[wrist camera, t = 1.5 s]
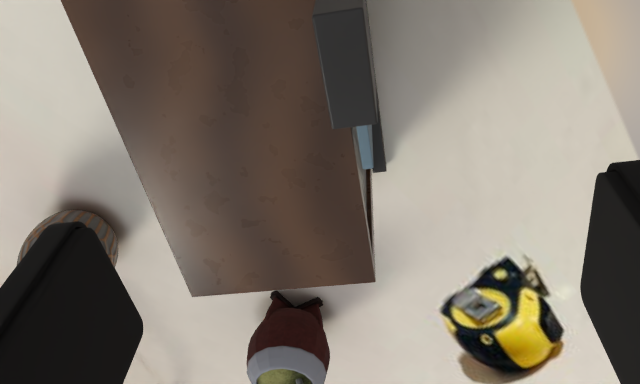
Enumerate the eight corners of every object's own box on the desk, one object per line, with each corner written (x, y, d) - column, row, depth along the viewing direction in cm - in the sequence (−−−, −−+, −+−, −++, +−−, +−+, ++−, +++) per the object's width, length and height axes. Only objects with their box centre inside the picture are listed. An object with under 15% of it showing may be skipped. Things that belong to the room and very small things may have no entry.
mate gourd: (241, 303, 49) (203, 464, 37) (309, 270, 46) (292, 433, 34) (290, 347, 53) (270, 508, 41) (356, 319, 50) (356, 483, 38)
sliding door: (360, -89, 29) (362, -3, 16) (377, 61, 34) (390, 222, 21) (331, -83, 29) (308, 5, 16) (352, 64, 34) (349, 226, 21)
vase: (145, 243, 46) (106, 322, 39) (87, 268, 48) (40, 348, 41) (89, 184, 42) (35, 259, 35) (29, 214, 45) (-33, 291, 38)
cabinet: (353, -105, 30) (351, -63, 20) (386, 165, 40) (395, 280, 30) (149, -66, 31) (55, -11, 22) (231, 183, 42) (191, 297, 32)
